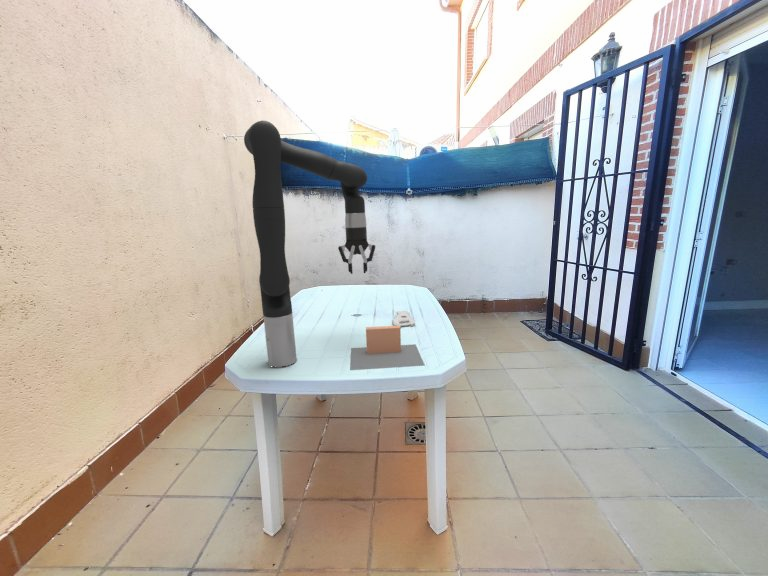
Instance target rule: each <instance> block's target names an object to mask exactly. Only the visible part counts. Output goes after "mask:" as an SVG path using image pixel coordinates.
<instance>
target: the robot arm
mask: <svg viewBox="0 0 768 576" xmlns="http://www.w3.org/2000/svg"><path fill="white" fill-rule="evenodd" d="M243 141H244V142H243V143H244V147H245V148H246V150H247V151H248V152H249V153H250V154H251V155H252V157H253V163H254V181H253V182H254V183H253V189H252V201H251V202H252V204H251V205H252V215H253V216H252V217H253V223H254V225H253V226H254V230H255V235H256V240H257V244H258V248H259V257H260V260H259V261H260V262H259V263H260V270H259V272H260V273H259V277H258V278H259V279H258V280H259V281H258V282H259V289H260V296H261V297H260V299H261V309H262V315H263V323H264V324H263V325H264V333H265V335H264V336H265V343H266V344H265V346H266V355H267V362H268V367H269V368H270V367H271V366H276V367H275V368H283V367H282V366H286V367H289V366H292V365H294V364H295V363H297V361H298V359H297V358H298V357H297V348H296V347H297V346H296V338H295V328H294V327H295V326H294V325H295V324H294V318H293V317H294V316H293V306H292V304H293V303H292V298H291V292H290V291H291V290H290V283H291V282H290V281H291V280H290V279H291V278H290V276H289V271H288V266H287V259H286V252H285V251H286V249H285V248H286V247H285V245H286V214H285V213H286V212H285V203H284V192H283V182H282V173H281V165H282V164H281V163H283V164H285V165H288V166H293V167H296V168H298V169H300V170H304V171H305V172H308V173H311V174H313V175H316V176H318V177H321V178H323V179H326V180H329V181H334V182H335V181H337V182H340V187H341V188H340V189H341V192H342V197H343V199H344V210H345V211H344V212H345V215H344V216H345V218H344V219H345V220H344V222H345V223H344V228H345V244H343V245H339V246H338V247H337V249H338V251H339V254H340V257H341V259H342V262H343V263H347V264H348V265H347V267H348V268H347V270H348V273H350V274H351V275H352V274H353V263H352V261H353V257H354V255H361V257H362V258H361V259H362V260H363V262H362V265H363V267H362V268H363V274H366V272H368V263H369V262H372V261H373V258H374V253H375V250H376V245H375V244H371V243H369V242H368V236H367V235H368V232H367V216H366V203H365V198H364V197H363V196H361V194H360V189H361V188H362V187H364V186H365V185H366V184H367V181H368V175H367V172H366V171H365V170H364V169H363V168H362V167H360V166H358V165H356V164H353V163H349V162H346V161H341V160H338V159H336V158H334V157H331V156H329V155H328V154H325V153H323V152H319V151H317V150H312V149H307V148H304V147H300V146H296V145H294V144H290V143H289V142H286V141H284V140H282V139H281V134H280V132H279V129H278V128H277V127H276V126H275V125H274V124H273V123H271V122H270V121H267V120H259V121H256V122H254V123H253V124H251V126H250V127H249V128H248V129H247V130H246V132H245V134H244V137H243ZM345 248H346V249H345ZM367 248H368V249H369V250H370V252H369V256H368V257H366V253H365V251H366V250H367ZM345 250H347V251H348V252H349V256H348V258H347V257H346V254H345ZM293 363H294V364H293ZM291 364H292V365H291ZM288 365H289V366H288ZM271 368H272V367H271Z"/></svg>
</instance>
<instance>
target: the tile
mask: <svg viewBox="0 0 768 576" xmlns="http://www.w3.org/2000/svg"><path fill="white" fill-rule="evenodd" d="M401 335H402V334H401V329H400V325H399V326H393V325H385V326H369V327H368V326H367V327H365V337H366V338H365V341H366V347H367V354H374V353H391V352H401V345H402V342H401V341H402V338H401Z"/></svg>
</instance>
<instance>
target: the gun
mask: <svg viewBox="0 0 768 576" xmlns="http://www.w3.org/2000/svg"><path fill="white" fill-rule="evenodd" d="M391 323H392V326H399V325H400V330H401V329H402V328H403V327H410V328H412V327H414V326H415V327H416V322H415V321H414V318H413V317H412V316H411V315H410V312H408V311H407V310H400V311H399V310H398V311H396V315H395V317H394V318H392V319H391Z"/></svg>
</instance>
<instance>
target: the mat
mask: <svg viewBox="0 0 768 576" xmlns="http://www.w3.org/2000/svg"><path fill="white" fill-rule="evenodd" d="M349 364H350V366H349V371H356V370H357V371H362V370H375V369H377V370H378V369H391V368H393V369H394V368H407V367H421V366H422V367H423V366H425V363H424V360H423V358H422V356H421V354H420V351H419V349H418V347H417V344H401V352H391V353H374V354H367V346H365V347H351V349H350V363H349Z"/></svg>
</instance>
